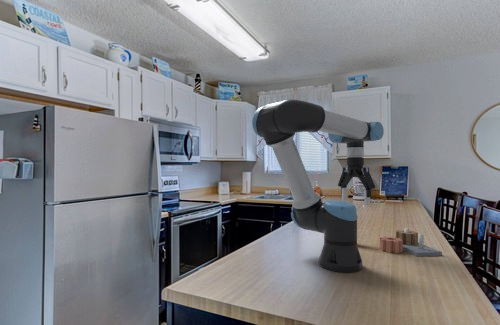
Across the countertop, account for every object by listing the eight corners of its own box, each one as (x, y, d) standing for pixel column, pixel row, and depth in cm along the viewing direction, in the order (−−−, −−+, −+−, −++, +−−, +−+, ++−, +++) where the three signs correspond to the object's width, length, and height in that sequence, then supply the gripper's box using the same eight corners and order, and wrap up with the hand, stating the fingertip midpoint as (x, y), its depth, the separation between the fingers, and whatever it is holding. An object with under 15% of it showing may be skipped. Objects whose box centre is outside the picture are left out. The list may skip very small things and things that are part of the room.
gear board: (442, 255, 121) (441, 235, 121) (416, 256, 120) (416, 236, 120) (411, 243, 141) (411, 226, 141) (389, 243, 140) (388, 226, 140)
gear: (406, 253, 124) (406, 241, 125) (386, 253, 124) (386, 241, 124) (394, 247, 133) (394, 236, 133) (376, 247, 132) (376, 236, 133)
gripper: (383, 156, 127) (384, 205, 127) (342, 157, 150) (342, 199, 150) (371, 156, 124) (371, 206, 124) (330, 157, 146) (330, 200, 146)
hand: (355, 203), depth 137 cm, fingers open, 13 cm apart
